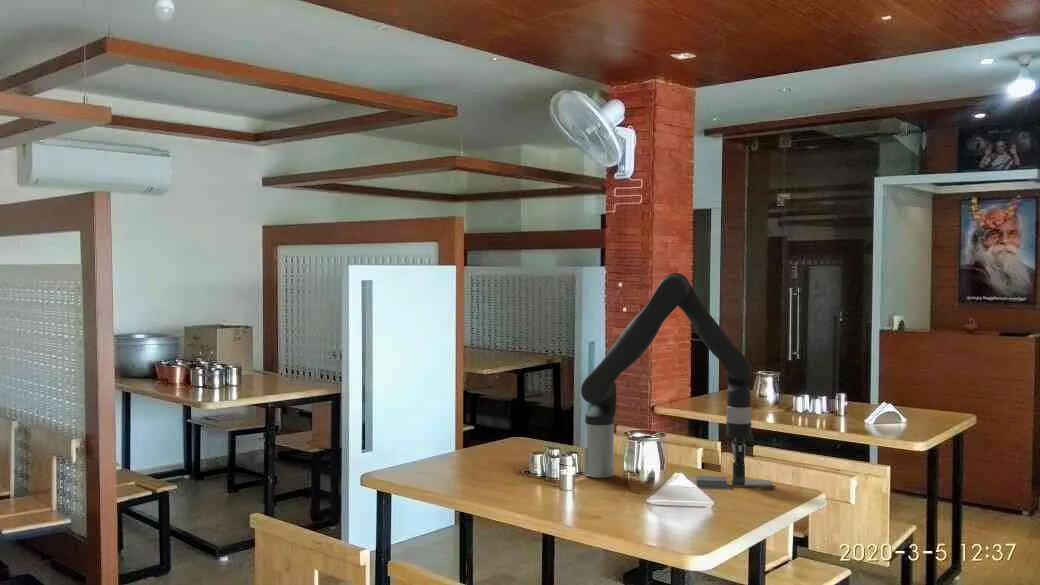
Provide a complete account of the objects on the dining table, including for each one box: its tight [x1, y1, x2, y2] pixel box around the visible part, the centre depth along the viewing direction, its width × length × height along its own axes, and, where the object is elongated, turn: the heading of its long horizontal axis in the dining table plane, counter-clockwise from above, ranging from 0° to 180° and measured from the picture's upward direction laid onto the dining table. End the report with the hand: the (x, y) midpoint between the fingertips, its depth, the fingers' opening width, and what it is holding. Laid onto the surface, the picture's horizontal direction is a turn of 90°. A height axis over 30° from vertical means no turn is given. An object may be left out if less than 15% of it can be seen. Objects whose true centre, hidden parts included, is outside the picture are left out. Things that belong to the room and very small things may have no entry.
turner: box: [732, 461, 772, 486], centre depth 276 cm, size 6×11×6 cm, turn 80°
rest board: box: [731, 479, 774, 491], centre depth 276 cm, size 12×7×1 cm, turn 80°
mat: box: [692, 481, 731, 490], centre depth 276 cm, size 14×8×1 cm, turn 80°
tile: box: [695, 475, 728, 488], centre depth 276 cm, size 2×6×9 cm
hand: (738, 474), depth 277 cm, fingers open, 6 cm apart
